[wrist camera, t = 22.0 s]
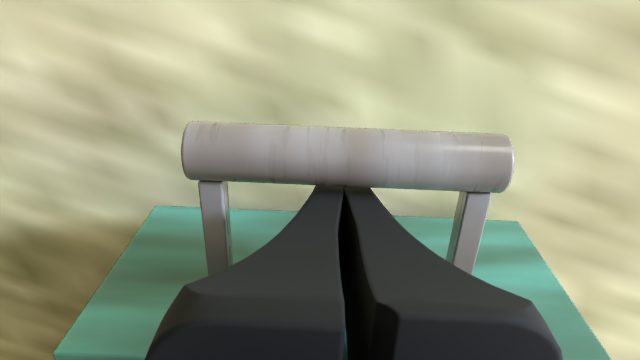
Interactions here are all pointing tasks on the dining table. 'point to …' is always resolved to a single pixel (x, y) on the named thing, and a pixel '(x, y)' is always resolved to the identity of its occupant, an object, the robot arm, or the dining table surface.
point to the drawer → (263, 225)
